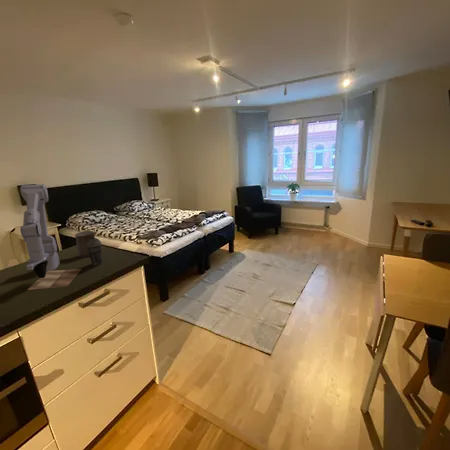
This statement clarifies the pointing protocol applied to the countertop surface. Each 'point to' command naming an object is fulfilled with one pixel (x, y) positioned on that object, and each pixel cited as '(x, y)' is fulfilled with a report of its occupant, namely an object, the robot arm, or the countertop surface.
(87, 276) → the countertop surface
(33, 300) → the countertop surface
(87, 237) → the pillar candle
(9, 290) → the countertop surface
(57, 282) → the laid board
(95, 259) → the beverage cup
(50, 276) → the plank
